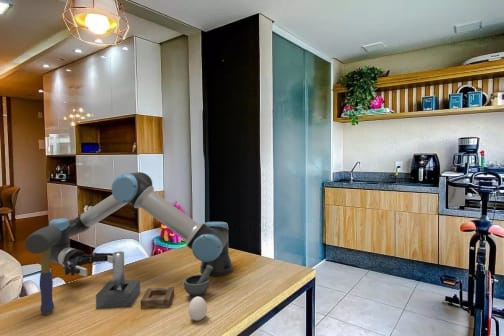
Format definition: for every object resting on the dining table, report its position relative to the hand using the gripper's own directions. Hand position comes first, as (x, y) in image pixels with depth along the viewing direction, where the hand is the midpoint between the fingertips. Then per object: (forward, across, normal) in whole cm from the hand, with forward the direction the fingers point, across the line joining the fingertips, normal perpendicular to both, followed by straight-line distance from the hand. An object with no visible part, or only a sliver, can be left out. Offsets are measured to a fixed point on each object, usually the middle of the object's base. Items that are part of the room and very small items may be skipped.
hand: (103, 266), depth 117 cm
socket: (+10, 0, -11) cm, 15 cm away
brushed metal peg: (+10, 0, -9) cm, 13 cm away
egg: (+45, -4, -11) cm, 46 cm away
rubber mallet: (-4, +18, -11) cm, 22 cm away
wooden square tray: (+24, -6, -11) cm, 27 cm away
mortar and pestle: (+35, -16, -11) cm, 40 cm away
